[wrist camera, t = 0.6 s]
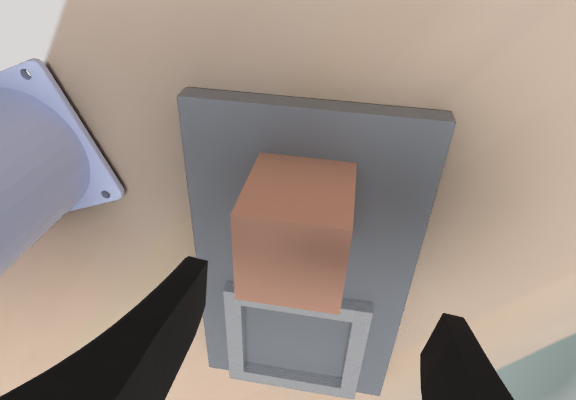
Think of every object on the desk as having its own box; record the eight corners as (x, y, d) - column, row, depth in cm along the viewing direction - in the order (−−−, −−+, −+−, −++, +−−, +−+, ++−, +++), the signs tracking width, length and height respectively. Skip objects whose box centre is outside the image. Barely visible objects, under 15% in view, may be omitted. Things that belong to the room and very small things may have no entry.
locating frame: (354, 388, 29) (354, 399, 28) (232, 367, 30) (229, 378, 29) (372, 302, 24) (373, 313, 23) (227, 281, 25) (223, 291, 24)
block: (345, 239, 22) (339, 315, 18) (260, 228, 22) (234, 299, 18) (356, 162, 19) (352, 230, 15) (259, 152, 20) (230, 214, 16)
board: (379, 379, 30) (379, 395, 29) (214, 352, 31) (209, 367, 30) (451, 111, 18) (455, 122, 17) (186, 86, 20) (176, 95, 19)
